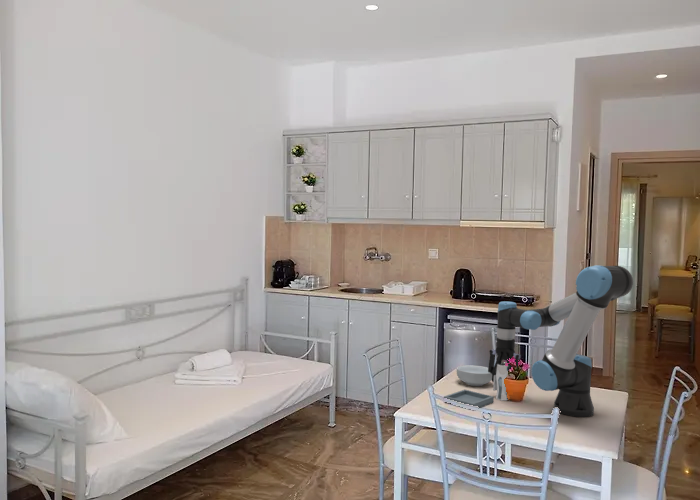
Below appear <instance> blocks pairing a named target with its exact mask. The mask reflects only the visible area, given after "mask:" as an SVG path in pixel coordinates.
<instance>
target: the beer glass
mask: <svg viewBox="0 0 700 500" xmlns="http://www.w3.org/2000/svg"><path fill="white" fill-rule="evenodd" d="M505 363H507V361H506V362H505V361H502V362H501V364H500V365H499V364H497V366H496V383H497V390H496V394H495V399H496V400H497V401H502V402H508V401H507V400H508V398H507V392H506V387H505V384H504V379H505V378H506V377H507V375H508V371H509V369H510V366H505Z"/></svg>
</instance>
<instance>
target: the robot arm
mask: <svg viewBox="0 0 700 500" xmlns="http://www.w3.org/2000/svg"><path fill="white" fill-rule="evenodd" d="M575 285H576V286H575V288H576V289H575V290H576V292H574V293H572V294H570V295H568V296H566V297H563V299H560V300H558V301H556V302H554V303H552V304H550V305H548V306H546V307H543V308H534V309H533V308H531V309H522V308H518V306H517V303H516V302H514V301H505V300H504V301H500V302H499V303H498V307H497V325H496V326H497V327H496V344H495V345H496V348H495V349H494V348H493V349H490V350H489V360H488V361H489V362H488V367H487V368H488V372H489V373H491V374H492V380H491V382H492V384H493V385H492V387H493V389H492V390H493V391H494V392H495V391H497V383H496V366H497V364H499V365H500V364H501V362H503V361H504V362H505V361H506V363H509V361H508V360H509V358H510V359H511V358H514V363H515V362H516V365H517V368H518V362H519V361H520V362H521V359H522V354H521V353H519V354H518V353H516V351H515V346H516V345H515V344H516V340H515V338H516V328H521V329H525V330H532V331H536V330H537V329H539V328H543V327H551V328H552V327H554V326H557V325H559V324H560V323H561V321H563V320H565V319H566V321H565V323H564V326H562V329H561V331H560V333H559V335H558V337H557V339H556V340H555V343H554V344H553V347H552V349H547V350H546V351H545V354H544V355H543V357H542V359H540V360H537V361H535V362H534V363H533V365H532V367H531V376H532V380H533V382H534V384H535V385H536V387H538V389H540V390H542V391H545V392H546V391H548V392H549V391H551V392H552V391H556V390H558V393H557V395H556V397H555V400H554V403H553V408H554V407H558V408H559V409H560V411H561V413H560V415H561V414H562V415H565V416H570V417H576V418H577V417H578V418H587V417H588V418H589V417H591V416H592V417H593V416H594V413H595V408H594V403H593V401H592V397H591V383H592V382H591V381H592V380H591V379H592V368H593V366H592V362H593V361H592V358H591V357H590V356H586V355H583V354H578V353H579V351H580V349H581V347H582V345H583V343H584V341H585V339H586V337H587V336H588V334H589V331H590V330H591V328H592V327H593V324H594V322H595V321H596V319H597V317H598V315H599V313H600V312H601V311H602V310H604V309H607V308H608V306H609V304H610V303H611V302H612V301H614V300H617V299H619V298H620V299H621V298H622V297H624V296H627V295H628V294H629V293H630V292H631V291H632V289H633V287H634V278H633V275H632V273H631V272H630V271H629V270H628V269H627V268H625V267H624V266H621V265H599V264H597V265H591V266H587V267H585V268H583V269H582V270H581V271H580V272H579V273H578V275H577V276H576V280H575ZM496 354H497V358H496ZM507 359H508V360H507ZM515 359H516V360H515ZM518 360H519V361H518ZM508 366H510V369H511V367H512V366H511V365H510V364H508Z"/></svg>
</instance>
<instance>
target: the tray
mask: <svg viewBox="0 0 700 500" xmlns="http://www.w3.org/2000/svg"><path fill="white" fill-rule="evenodd" d="M494 397H495V396H493V395H489V394H484V393H480V392H478V391H476V392H475V391H473V390H469V389H462V390H459V391H457V392H454V393H451V394H447V395H444V396H443V399H444V398H447V399H450V400H454V401H457V402H461V403H464V404H469V405H473V406H478V407H481V408H483V407H485V405H486V406H488V405H490V403H491V404H494V403H493V402H494V400H495V399H494Z"/></svg>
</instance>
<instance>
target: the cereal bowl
mask: <svg viewBox="0 0 700 500" xmlns="http://www.w3.org/2000/svg"><path fill="white" fill-rule="evenodd" d="M456 376H457V377H458V379H459V380H460V381H462V382H464V383H465V384H466V385H467V386H472V387H482V386H484V385H486V384H489V383H490V382H492V374H491V373H489V372H488V367H487V366H481V365H472V364H471V365H470V364H469V365H459V366H457V367H456Z"/></svg>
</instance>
